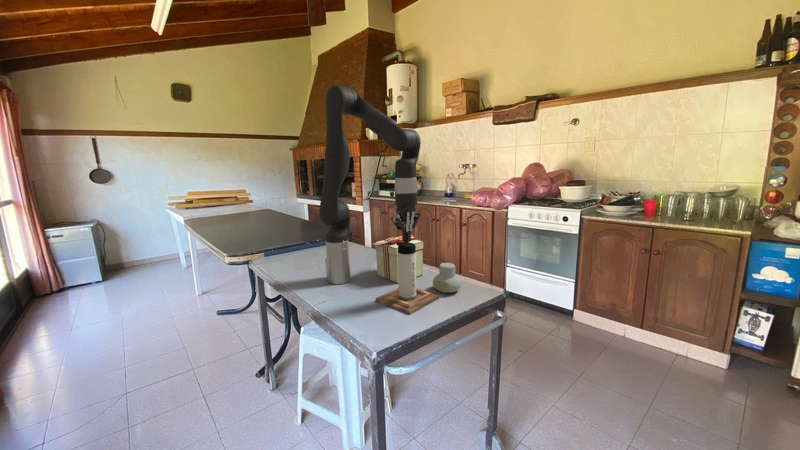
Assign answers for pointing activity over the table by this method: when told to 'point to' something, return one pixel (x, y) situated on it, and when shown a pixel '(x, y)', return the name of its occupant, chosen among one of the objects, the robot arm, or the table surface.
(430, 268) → the table surface
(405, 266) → the travel mug
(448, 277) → the air freshener
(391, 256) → the gift box
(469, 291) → the table surface
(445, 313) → the table surface
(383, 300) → the tan square plate
